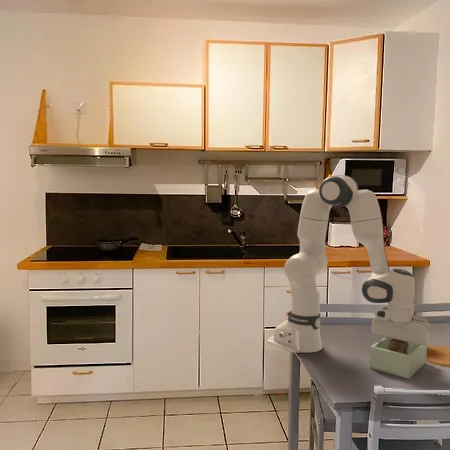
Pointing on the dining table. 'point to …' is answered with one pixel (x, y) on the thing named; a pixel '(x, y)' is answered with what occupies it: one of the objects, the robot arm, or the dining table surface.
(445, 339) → the dining table surface
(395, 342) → the block
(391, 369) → the bin
